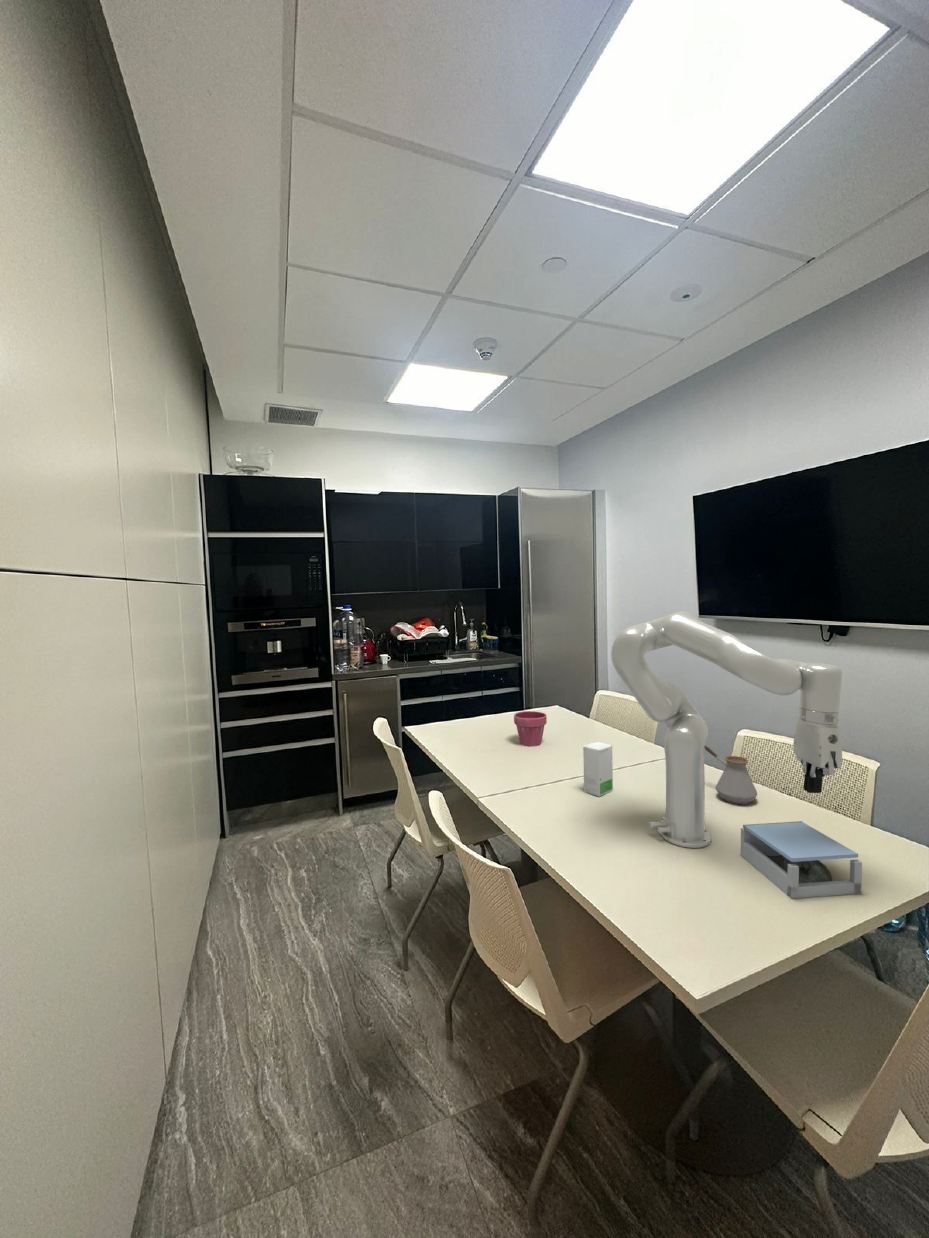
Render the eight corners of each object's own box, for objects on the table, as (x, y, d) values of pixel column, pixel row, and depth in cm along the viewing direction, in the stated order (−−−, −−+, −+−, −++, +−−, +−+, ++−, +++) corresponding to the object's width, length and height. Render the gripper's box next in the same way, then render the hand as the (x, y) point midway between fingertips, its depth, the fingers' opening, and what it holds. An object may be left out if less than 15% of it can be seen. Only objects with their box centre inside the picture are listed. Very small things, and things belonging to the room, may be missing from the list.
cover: (791, 862, 106) (791, 857, 106) (742, 827, 123) (742, 824, 122) (858, 857, 107) (858, 853, 107) (800, 824, 124) (800, 820, 123)
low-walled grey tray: (791, 898, 106) (791, 867, 105) (740, 854, 123) (740, 827, 123) (861, 893, 107) (861, 862, 106) (801, 850, 124) (801, 824, 124)
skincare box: (599, 797, 159) (598, 750, 158) (582, 791, 164) (581, 745, 163) (613, 790, 164) (613, 744, 163) (597, 784, 169) (596, 740, 168)
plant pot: (530, 736, 226) (529, 708, 225) (553, 743, 215) (553, 714, 214) (507, 743, 217) (507, 714, 216) (531, 750, 206) (530, 720, 205)
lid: (817, 868, 117) (817, 847, 116) (843, 894, 107) (843, 872, 107) (769, 866, 118) (769, 846, 118) (791, 891, 108) (791, 869, 108)
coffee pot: (765, 802, 152) (766, 755, 151) (739, 810, 147) (740, 761, 146) (707, 778, 171) (708, 736, 170) (683, 784, 167) (683, 741, 166)
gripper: (860, 725, 108) (853, 806, 109) (810, 707, 122) (804, 778, 124) (827, 725, 107) (820, 806, 109) (781, 707, 122) (775, 778, 124)
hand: (812, 791), depth 117 cm, fingers closed
